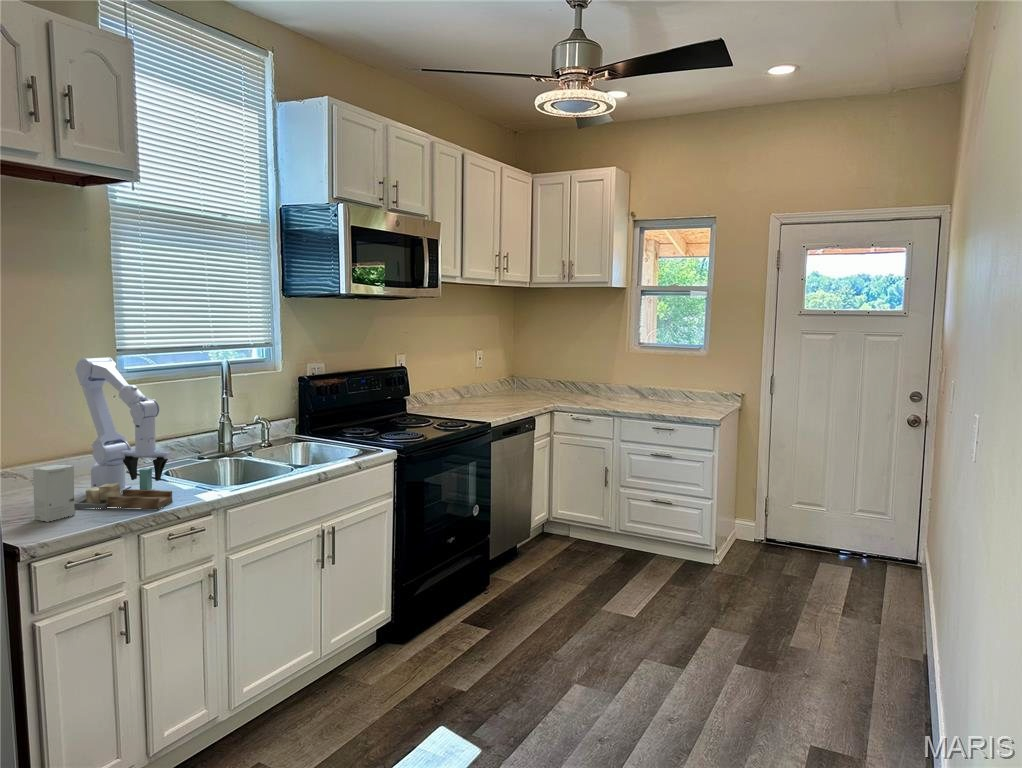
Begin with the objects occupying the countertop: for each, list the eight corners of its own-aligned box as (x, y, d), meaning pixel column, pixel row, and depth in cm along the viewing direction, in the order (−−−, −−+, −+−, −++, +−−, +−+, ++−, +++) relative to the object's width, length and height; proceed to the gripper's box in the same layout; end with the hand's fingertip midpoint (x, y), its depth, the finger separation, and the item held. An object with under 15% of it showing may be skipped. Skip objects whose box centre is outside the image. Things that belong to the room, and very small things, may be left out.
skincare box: (47, 523, 192) (45, 470, 190) (32, 519, 194) (31, 468, 192) (76, 515, 199) (74, 464, 198) (61, 512, 202) (60, 462, 200)
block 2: (100, 499, 210) (98, 487, 209) (107, 496, 214) (106, 483, 213) (113, 499, 210) (111, 486, 209) (120, 495, 214) (119, 483, 213)
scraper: (137, 498, 219) (136, 470, 218) (145, 494, 224) (145, 466, 223) (146, 498, 219) (146, 470, 218) (154, 494, 224) (154, 467, 223)
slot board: (107, 508, 207) (107, 496, 207) (124, 500, 216) (124, 489, 216) (157, 509, 207) (157, 498, 207) (172, 501, 216) (172, 490, 216)
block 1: (99, 503, 210) (86, 503, 210) (107, 499, 214) (94, 499, 214) (98, 490, 209) (85, 490, 209) (106, 487, 213) (93, 487, 213)
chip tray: (73, 508, 205) (72, 503, 205) (96, 497, 217) (96, 493, 217) (104, 509, 206) (104, 504, 205) (127, 498, 218) (126, 494, 217)
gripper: (115, 439, 216) (116, 481, 217) (161, 441, 216) (162, 483, 217) (127, 435, 223) (128, 476, 224) (172, 437, 223) (173, 478, 224)
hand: (146, 479), depth 221 cm, fingers open, 7 cm apart
